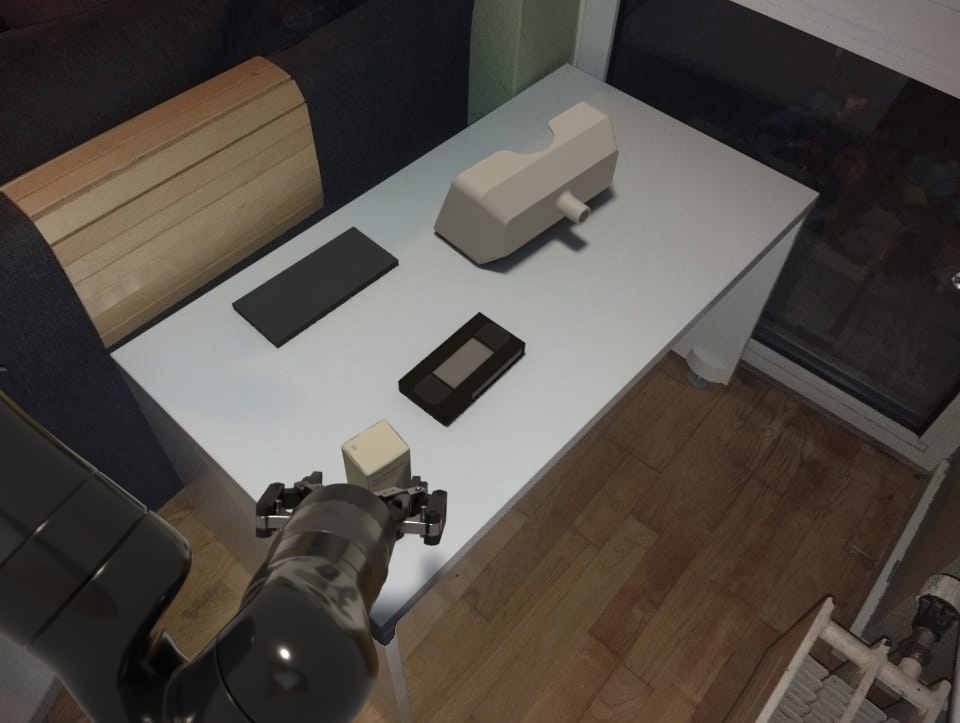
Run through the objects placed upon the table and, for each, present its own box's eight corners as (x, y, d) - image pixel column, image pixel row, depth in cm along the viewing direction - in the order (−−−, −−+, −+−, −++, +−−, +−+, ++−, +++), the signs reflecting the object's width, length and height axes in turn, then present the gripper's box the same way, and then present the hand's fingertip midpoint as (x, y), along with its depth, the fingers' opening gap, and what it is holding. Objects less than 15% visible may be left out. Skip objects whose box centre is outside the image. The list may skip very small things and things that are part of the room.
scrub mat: (277, 348, 93) (276, 343, 92) (233, 308, 96) (231, 303, 96) (398, 264, 102) (398, 259, 101) (354, 231, 106) (353, 226, 105)
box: (375, 539, 78) (364, 479, 68) (350, 508, 80) (336, 445, 70) (416, 510, 81) (412, 447, 70) (392, 481, 83) (384, 415, 72)
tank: (513, 296, 99) (521, 224, 89) (431, 232, 106) (429, 159, 96) (634, 209, 110) (653, 136, 100) (553, 156, 117) (563, 83, 107)
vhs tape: (525, 353, 94) (526, 343, 92) (446, 427, 87) (446, 417, 85) (478, 321, 97) (479, 311, 95) (398, 390, 90) (397, 381, 88)
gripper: (442, 506, 50) (451, 445, 66) (223, 497, 50) (285, 438, 66) (437, 615, 51) (447, 529, 67) (223, 606, 51) (284, 522, 67)
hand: (367, 484), depth 67 cm, fingers open, 8 cm apart
